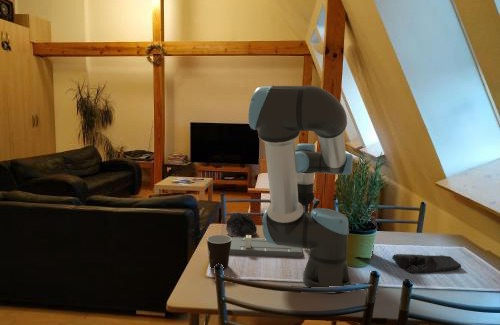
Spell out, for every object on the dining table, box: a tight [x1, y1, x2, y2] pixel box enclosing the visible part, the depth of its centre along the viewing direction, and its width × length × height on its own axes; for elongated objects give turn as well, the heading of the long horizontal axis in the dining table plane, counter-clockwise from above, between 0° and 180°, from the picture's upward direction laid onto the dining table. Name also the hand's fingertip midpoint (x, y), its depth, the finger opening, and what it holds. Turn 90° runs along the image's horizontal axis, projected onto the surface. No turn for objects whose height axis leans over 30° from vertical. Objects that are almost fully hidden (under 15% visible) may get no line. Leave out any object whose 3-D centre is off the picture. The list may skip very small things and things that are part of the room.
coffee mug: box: [206, 234, 232, 270], centre depth 124 cm, size 12×9×10 cm
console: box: [230, 236, 303, 258], centre depth 139 cm, size 14×28×2 cm, turn 87°
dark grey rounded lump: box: [225, 212, 257, 238], centre depth 157 cm, size 13×14×10 cm
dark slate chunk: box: [391, 253, 462, 274], centre depth 128 cm, size 15×22×5 cm
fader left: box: [245, 235, 252, 248], centre depth 136 cm, size 3×2×4 cm, turn 177°
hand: (301, 239), depth 142 cm, fingers closed
